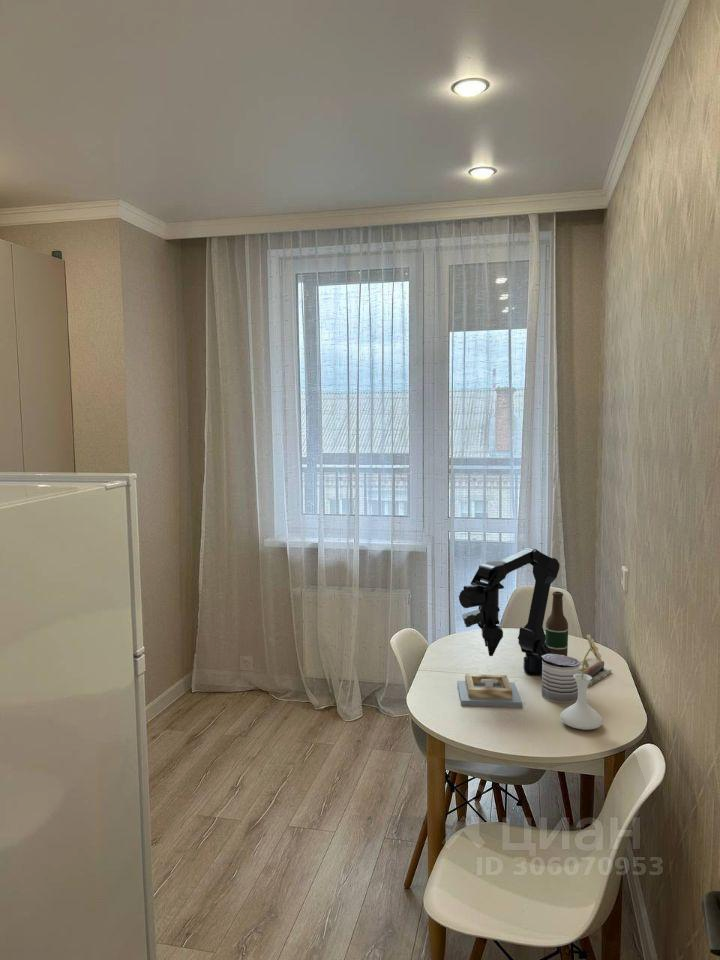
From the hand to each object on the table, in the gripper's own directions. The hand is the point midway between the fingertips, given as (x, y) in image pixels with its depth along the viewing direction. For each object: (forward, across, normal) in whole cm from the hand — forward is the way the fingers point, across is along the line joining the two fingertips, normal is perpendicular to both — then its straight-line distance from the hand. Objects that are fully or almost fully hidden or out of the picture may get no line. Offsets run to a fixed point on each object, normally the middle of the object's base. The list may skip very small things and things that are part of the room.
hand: (489, 651), depth 223 cm
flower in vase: (+11, +28, +22) cm, 38 cm away
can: (+11, +8, +21) cm, 25 cm away
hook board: (+11, +11, -1) cm, 15 cm away
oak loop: (+9, +9, -1) cm, 13 cm away
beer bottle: (+12, -27, +27) cm, 40 cm away
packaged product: (+12, -10, +33) cm, 37 cm away
